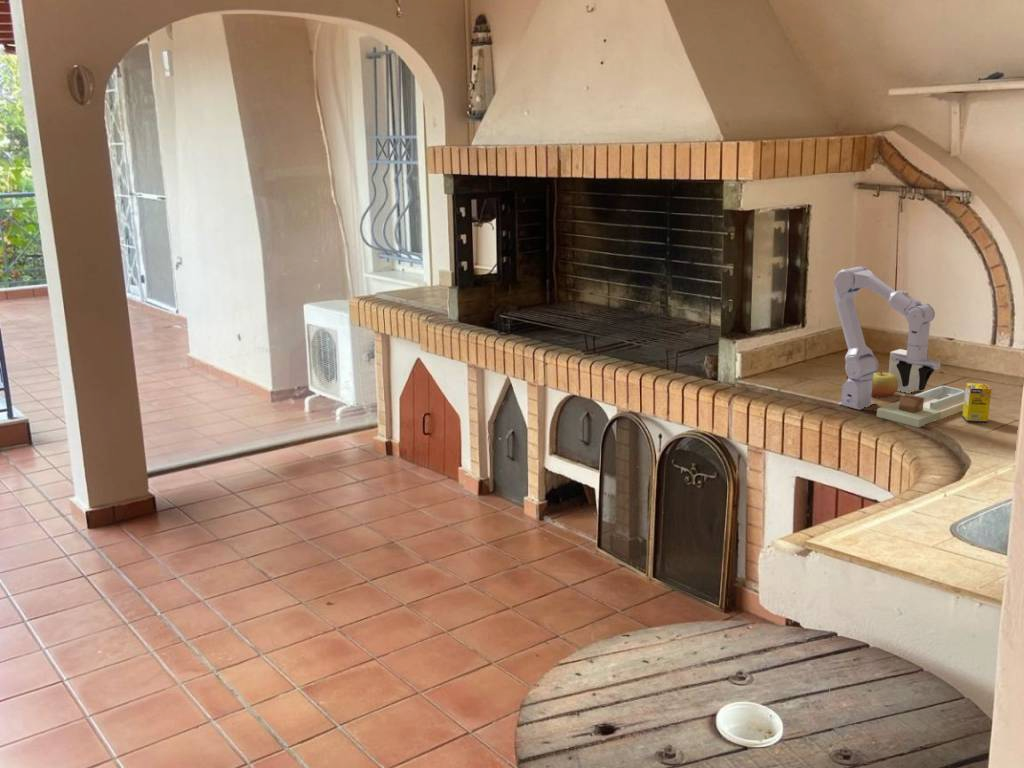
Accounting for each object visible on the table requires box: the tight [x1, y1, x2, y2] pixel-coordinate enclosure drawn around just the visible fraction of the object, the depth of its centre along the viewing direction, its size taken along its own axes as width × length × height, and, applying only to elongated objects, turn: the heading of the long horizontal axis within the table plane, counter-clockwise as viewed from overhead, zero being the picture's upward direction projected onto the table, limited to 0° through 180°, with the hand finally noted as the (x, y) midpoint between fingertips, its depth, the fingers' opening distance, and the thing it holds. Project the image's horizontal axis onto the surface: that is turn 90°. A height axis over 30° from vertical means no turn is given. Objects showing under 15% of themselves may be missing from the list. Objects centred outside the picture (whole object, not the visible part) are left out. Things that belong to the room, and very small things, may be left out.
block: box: [898, 393, 924, 413], centre depth 296 cm, size 5×5×4 cm
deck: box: [876, 384, 965, 428], centre depth 302 cm, size 32×14×4 cm, turn 127°
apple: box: [871, 371, 898, 398], centre depth 319 cm, size 10×10×8 cm
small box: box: [888, 348, 922, 394], centre depth 324 cm, size 8×6×13 cm
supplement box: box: [961, 382, 992, 424], centre depth 292 cm, size 6×6×11 cm
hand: (913, 387), depth 295 cm, fingers open, 5 cm apart
